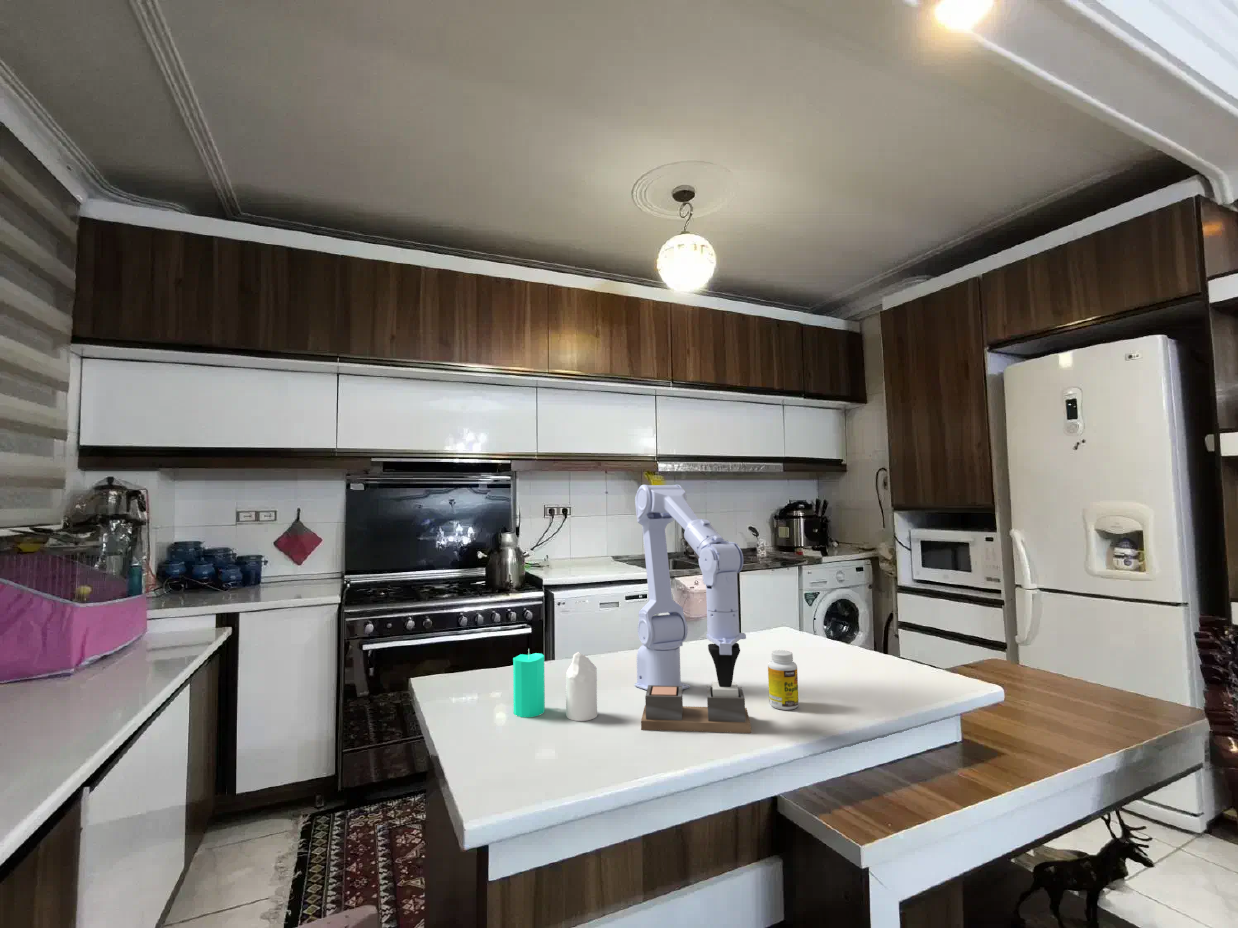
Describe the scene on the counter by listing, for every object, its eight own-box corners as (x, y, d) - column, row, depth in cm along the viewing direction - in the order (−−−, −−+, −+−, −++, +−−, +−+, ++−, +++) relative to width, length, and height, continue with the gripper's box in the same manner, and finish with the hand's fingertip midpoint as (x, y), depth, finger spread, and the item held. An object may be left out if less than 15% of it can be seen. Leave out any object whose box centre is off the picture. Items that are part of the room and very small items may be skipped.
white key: (712, 695, 105) (712, 681, 105) (736, 696, 105) (736, 682, 105) (713, 703, 101) (712, 689, 101) (738, 704, 100) (738, 689, 101)
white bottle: (598, 648, 111) (593, 655, 105) (599, 711, 110) (594, 722, 104) (568, 647, 112) (562, 654, 106) (569, 710, 111) (562, 721, 105)
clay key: (653, 700, 107) (653, 686, 107) (677, 700, 106) (676, 686, 106) (651, 708, 102) (651, 694, 102) (676, 708, 102) (675, 694, 102)
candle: (550, 707, 112) (549, 646, 113) (535, 718, 107) (535, 653, 108) (523, 705, 114) (522, 644, 115) (507, 715, 109) (507, 651, 110)
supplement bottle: (785, 713, 107) (783, 657, 108) (763, 704, 112) (761, 651, 113) (805, 706, 110) (802, 652, 111) (782, 699, 115) (780, 647, 116)
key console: (645, 713, 108) (644, 683, 109) (746, 716, 106) (745, 685, 106) (641, 729, 100) (640, 697, 101) (751, 732, 98) (749, 700, 98)
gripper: (748, 617, 96) (751, 699, 95) (741, 602, 111) (744, 674, 110) (706, 616, 97) (709, 698, 96) (704, 602, 112) (707, 673, 111)
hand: (725, 685), depth 103 cm, fingers closed, pressing on white key
